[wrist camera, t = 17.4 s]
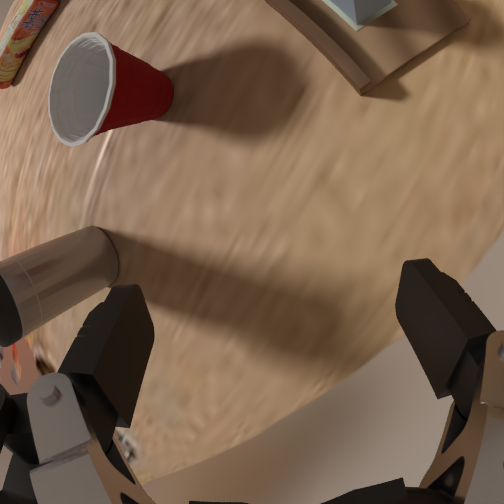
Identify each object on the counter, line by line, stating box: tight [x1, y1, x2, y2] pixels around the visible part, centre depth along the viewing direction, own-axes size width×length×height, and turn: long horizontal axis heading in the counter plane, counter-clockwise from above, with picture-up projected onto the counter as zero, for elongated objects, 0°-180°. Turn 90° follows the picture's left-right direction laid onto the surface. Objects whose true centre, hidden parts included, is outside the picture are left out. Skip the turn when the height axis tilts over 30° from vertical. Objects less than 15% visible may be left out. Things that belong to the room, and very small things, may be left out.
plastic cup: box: [48, 32, 173, 147], centre depth 26 cm, size 11×11×12 cm
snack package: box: [0, 0, 60, 89], centre depth 33 cm, size 21×7×7 cm, turn 126°
